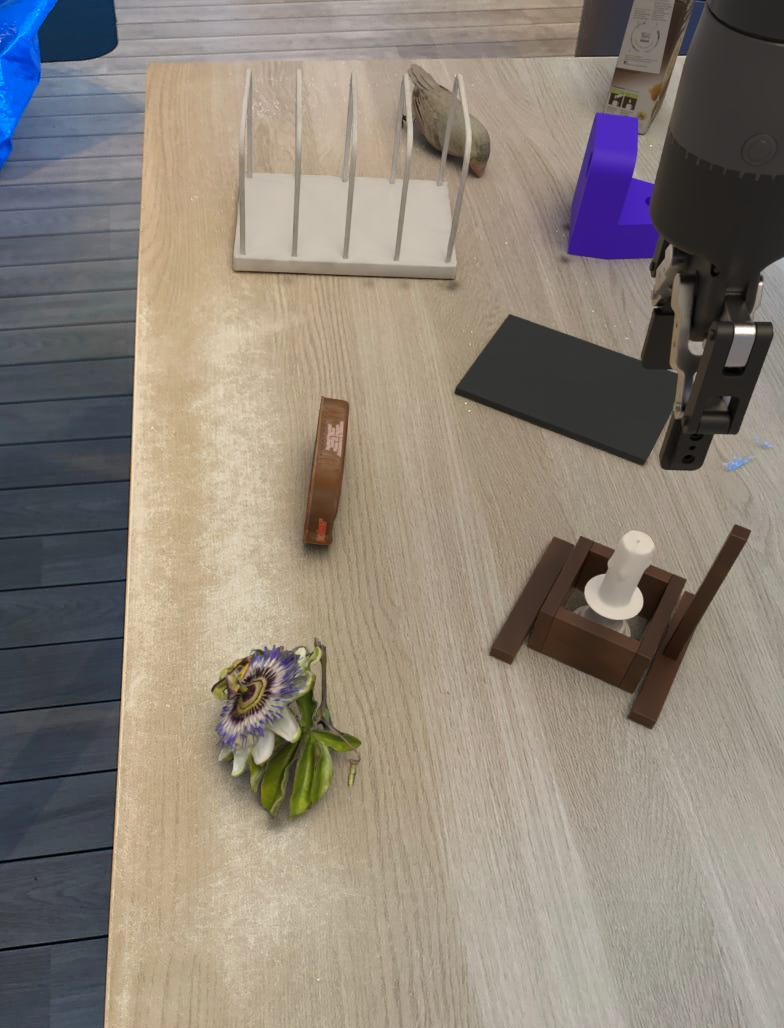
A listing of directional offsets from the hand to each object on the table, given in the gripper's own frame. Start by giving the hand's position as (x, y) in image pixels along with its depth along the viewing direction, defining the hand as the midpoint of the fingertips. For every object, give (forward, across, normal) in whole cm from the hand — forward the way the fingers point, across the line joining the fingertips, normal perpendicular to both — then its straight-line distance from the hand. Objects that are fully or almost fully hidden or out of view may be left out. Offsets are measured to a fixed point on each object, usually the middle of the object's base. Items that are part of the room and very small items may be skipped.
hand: (668, 413), depth 56 cm
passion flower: (+28, -7, +23) cm, 37 cm away
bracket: (+30, +66, -13) cm, 73 cm away
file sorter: (+27, +63, +23) cm, 72 cm away
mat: (+29, +38, -2) cm, 48 cm away
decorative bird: (+28, +83, +11) cm, 88 cm away
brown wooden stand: (+30, +7, -2) cm, 30 cm away
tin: (+28, +19, +22) cm, 40 cm away
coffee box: (+29, +95, -14) cm, 100 cm away
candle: (+30, +7, -2) cm, 31 cm away
